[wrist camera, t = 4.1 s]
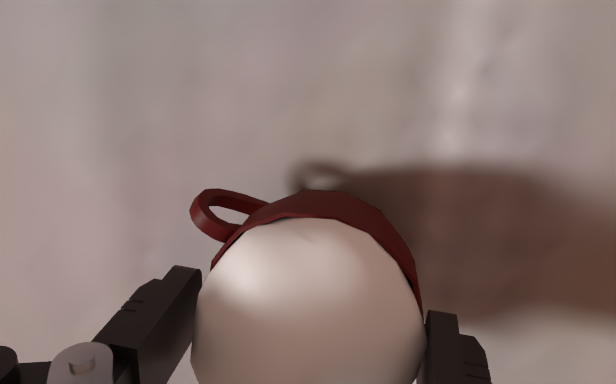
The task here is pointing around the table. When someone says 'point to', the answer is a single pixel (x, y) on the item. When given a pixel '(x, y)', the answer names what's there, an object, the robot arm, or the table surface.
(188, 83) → the table surface
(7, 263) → the table surface
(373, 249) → the cocoa
